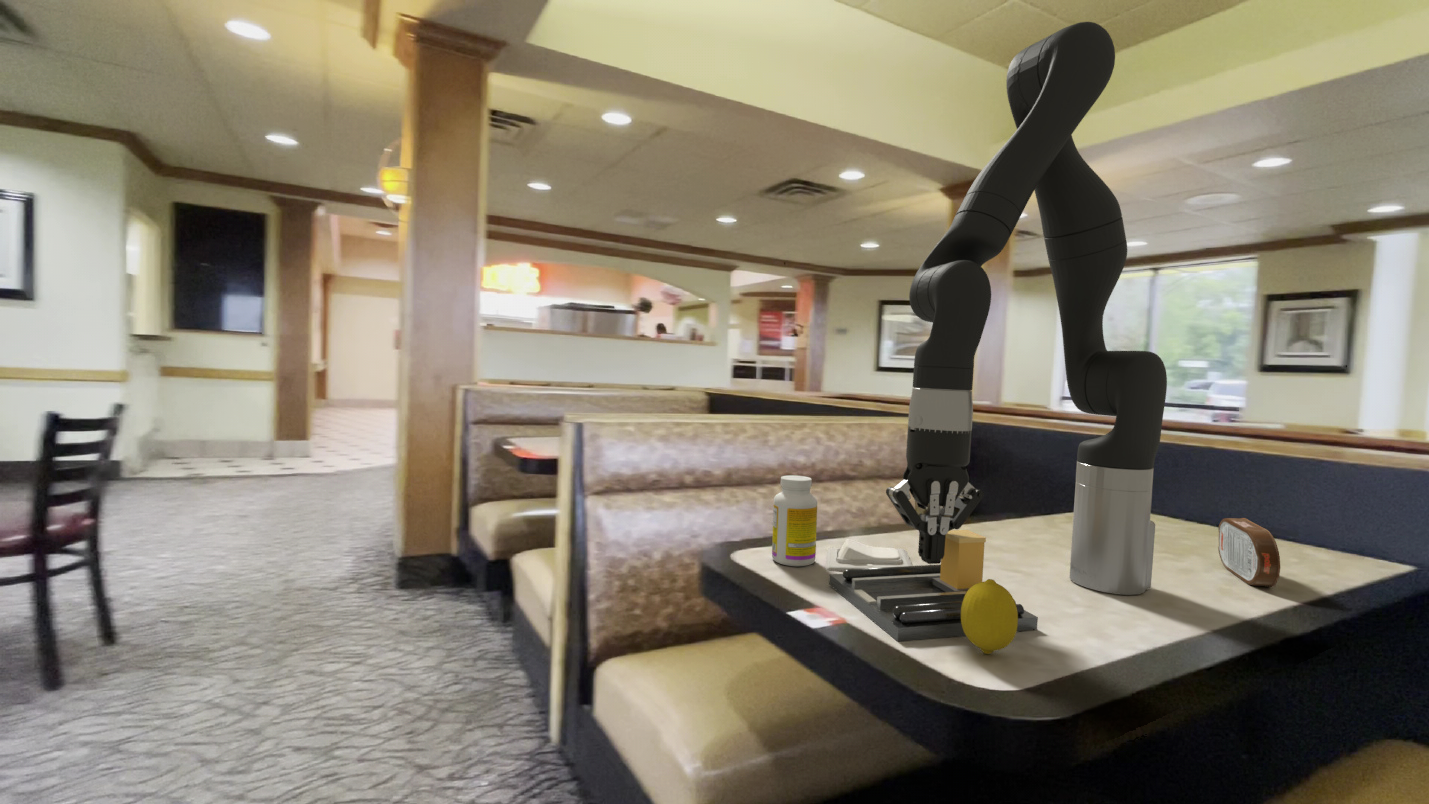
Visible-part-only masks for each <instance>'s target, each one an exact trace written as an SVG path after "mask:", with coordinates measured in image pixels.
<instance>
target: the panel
mask: <svg viewBox="0 0 1429 804" xmlns="http://www.w3.org/2000/svg"><path fill="white" fill-rule="evenodd" d="M940 571H941V563H940V564H928V565H927V564H925V565H923V564H922V565H912V566H901V567H882V568H863V569H846V570H844V572H842V573H830V574H829V578H828V579H829V580H828V581H829V584H828V585H829V586H830V588H832V589H834V591H836V592H837V593H838V594H839V595H841V596H842V597H843V598H844V599H846V600H847V601H848V602H849V603H850V604H851V605H852V606H854V607H856V609H858V610H859V611H860V612H861V613H863V615H865V616H866V618H868V619H870V620H871V621H872V620H873V621H874V622H873V621H872V622H873V623H875V625H877V626H878V627H879V626H880V627H879V628H880V629H882V630H883V631H884V632H886V634H887V635H890V636H891V638H893V639H894V640H895V641H896V642H904V641H905V642H907V641H917V640H928V639H929V640H930V639H942V638H955V637H967V636H966V635H965V633H964V631H963V628H962V624H961V606H962V602H963V599H964V596H965V594H966V593H967V591H960V592H945V591H943V590H941V589H940V588H938V587H936V586H935V585H933V584H932V581H933V578H940ZM1014 601H1015V604H1016V607H1017V613H1018V625H1017V631H1016V633H1017V632H1025V631H1024V630H1029V631H1034V630H1033V629H1037V630H1038V623H1039V622H1038V621H1039V618H1038V616H1036V615H1035V614H1032V613H1031V612H1029V611H1027V610H1026V609H1025V608H1024V606H1023V605H1022V604H1020V603H1016V600H1015V599H1014Z"/></svg>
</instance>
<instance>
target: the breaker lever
mask: <svg viewBox="0 0 1429 804" xmlns="http://www.w3.org/2000/svg"><path fill="white" fill-rule="evenodd" d="M986 542H987V537H985V536H983V535H981V534H978V533H975V532H973V531H971V530H969V529H953V530H950V531H948V533H947V534H946V538H945V550H944V551H945V552H944V557H943V559H941V563H940V564H941V571H940V578H933V581H932V584H933V585H935V586H936V587H938V588H940V589H941V590H943V591H945V592H960V591H968V590H969V589H970V588H971V587H972V586H973V585H975V584H977V583H980V582H983V575H984V559H985V557H984V556H985V555H984V554H985V543H986Z"/></svg>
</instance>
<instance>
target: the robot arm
mask: <svg viewBox="0 0 1429 804" xmlns="http://www.w3.org/2000/svg"><path fill="white" fill-rule="evenodd" d="M1115 48H1116V47H1115V45H1114V40H1113V39H1112V37H1111V35H1110V33H1109V32H1108V31H1107V30H1106V29H1105V28H1104V27H1103V26H1102V25H1100V24H1099V23H1097V22H1094V21H1093V22H1092V21H1081V22H1077V23H1073V24H1071V25H1068V26H1065V27H1063V28H1061V29H1059V30H1058V31H1055V32H1054V33H1051V34H1050V35H1048V36H1046V37H1044V38H1042V39H1040V40H1039V41H1037V42H1034V43H1033V44H1031V45H1029V46H1027V47H1025V48H1024V49H1021V50H1020V51H1019V52H1018V53H1016V55H1014V56H1013V58H1012V60H1011V62H1010V64H1009V65H1008V69H1007V74H1006V95H1007V100H1008V104H1009V107H1010V112H1011V115H1012V118H1013V121H1014V124H1015V127H1016V130H1015V132H1014V133H1013V134H1012V135H1011V136H1010V138H1009V139H1008V140H1007V141H1006V142H1005V143H1004V144H1003V145H1002V146H1001V148H999V150H998V151H997V152H996V153H995V154H994V155H993V157H992V158H991V159H990V160H989V161H988V162H987V164H986V165H985V166H983V168H982V170H981V171H980V172H979V173H978V175H977V176H976V178H975V179H974V181H973V182H972V183H971V186H970V187H969V189H968V191H967V192H966V194H965V196H964V198H963V200H962V202H961V204H960V206H959V208H958V210H957V211H956V213H955V216H954V218H953V220H952V222H951V224H950V226H949V228H948V230H947V231H946V232H945V233H944V235H943V236H942V237H941V239H939V241H938V242H937V244H936V245H935V246H934V248H933V249H932V250H930V253H929V254H928V255H927V257H926V258H925V259H924V260H923V262H922V264H921V265H920V267H919V269H918V270H917V271H916V273H915V275H914V277H913V279H912V281H911V285H910V289H909V295H908V297H909V299H908V300H909V305H910V308H911V310H912V312H913V314H914V315H915V316H916V317H918V318H919V319H920V320H922V321H923V322H927V323H928V322H929V323H932V326H931V330H930V334H929V337H928V338H927V339H926V340H925V341H924V342H922V343H921V344H919V345H918V346H917V348H916V350H915V354H914V362H913V374H912V375H913V376H912V377H913V378H912V389H911V396H910V400H909V407H908V418H907V419H908V421H907V424H908V425H907V435H906V438H907V439H906V452H905V458H906V463H907V464H906V468H905V471H904V472H903V475H902V480H901V481H899V483H898V484H896V485H895V486H894V487H893V486H888V487H887V488H886V490H885V494H886V496H887V498H888V499H889V501H890V502H891V504H892V506H893V507H894V508H895V509H896V511H897V512H898V515H900V517H901V519H902V520H903V522H904V523H905V524H906V525H907V526H909V527H911V528H914V529H915V530H917V531H918V534H919V535H918V536H919V537H918V550H917V553H918V556H919V557H920V559H921V561H922V562H925V563H926V564H928V565H940V564H941V559H943V557H944V552H945V551H944V550H945V538H946V534H947V533H948V531H950V530H960V529H961V528H962V526H963V525H964V523H965V522H966V521H967V520H968V518H969V517H970V515H971V514H972V513H973V511H974V510H975V509H976V508H977V506H978V505H979V503H980V502H981V501H982V500H983V498H984V496H985V494H984V491H983V490H981V489H978V488H975V487H974V486H973V484H971V482H969V480H970V477H969V473H968V471H967V466H968V465H969V464H970V460H971V444H972V430H973V417H974V416H973V415H974V407H973V406H974V403H973V401H974V400H973V391H972V390H973V385H974V384H973V383H974V381H973V380H974V371H975V370H974V368H975V357H976V352H977V350H978V347H979V345H980V342H981V340H982V339H981V338H982V336H983V334H984V333H983V332H984V329H985V326H986V323H987V320H988V316H989V312H990V309H991V304H992V303H991V302H992V287H991V281H990V279H989V276H988V273H987V272H986V271H985V269H984V268H983V267H982V266H983V265H984V264H985V263H987V262H989V261H990V260H992V259H994V258H995V257H997V256H998V255H999V254H1000V253H1001V252H1002V251H1003V249H1004V248H1005V246H1006V245H1007V243H1008V241H1009V240H1010V237H1011V236H1012V234H1013V232H1014V230H1015V228H1016V225H1017V224H1018V222H1019V220H1020V218H1021V216H1022V214H1023V212H1024V210H1025V208H1026V206H1027V204H1028V202H1029V200H1031V197H1032V195H1033V193H1035V198H1036V202H1037V207H1038V212H1039V215H1040V216H1039V217H1040V221H1041V228H1042V235H1043V236H1042V237H1043V239H1044V244H1045V249H1046V255H1047V258H1048V260H1047V261H1048V264H1049V267H1050V271H1051V275H1052V279H1053V285H1054V290H1055V296H1056V300H1057V306H1058V312H1059V317H1060V318H1059V319H1060V325H1061V333H1062V343H1063V344H1062V346H1063V354H1064V355H1063V356H1064V369H1065V375H1066V376H1065V377H1066V384H1067V389H1068V393H1069V396H1070V398H1071V400H1072V402H1073V404H1074V406H1075V407H1076V409H1078V410H1079V411H1080V412H1082V413H1086V414H1090V415H1098V416H1106V417H1107V416H1108V417H1115V422H1114V424H1113V425H1114V426H1113V427H1112V429H1111V430H1110V431H1109V432H1108V433H1106V434H1104V435H1101V436H1099V437H1096V438H1091V439H1087V440H1083V441H1082V442H1080V443H1079V445H1078V446H1077V453H1076V455H1077V456H1076V469H1075V486H1074V487H1075V489H1074V500H1073V501H1074V504H1073V518H1072V533H1071V535H1072V536H1071V550H1070V562H1069V564H1070V565H1069V580H1071V581H1072V582H1074V583H1075V584H1077V585H1078V586H1082V587H1085V588H1087V589H1091V590H1095V591H1099V592H1103V593H1108V594H1115V595H1125V596H1126V595H1132V596H1134V595H1140V594H1141V595H1142V594H1143V593H1145V592H1146V590H1151V589H1152V577H1153V575H1152V574H1153V562H1154V547H1155V536H1156V523H1155V521H1153V520H1151V511H1152V500H1153V482H1154V481H1153V480H1154V468H1155V459H1156V456H1157V452H1158V450H1159V447H1160V441H1161V436H1162V428H1163V427H1162V426H1163V418H1164V412H1165V404H1166V398H1167V397H1166V396H1167V390H1168V389H1167V388H1168V377H1167V369H1166V366H1165V364H1164V363H1165V362H1164V361H1163V360H1162V358H1161V357H1160V356H1159V355H1158V354H1157V353H1155V352H1152V351H1148V350H1147V351H1146V350H1107V347H1106V344H1105V337H1104V328H1103V327H1104V326H1103V323H1104V322H1103V321H1104V313H1105V310H1106V307H1107V305H1108V302H1109V300H1110V297H1111V295H1112V294H1113V291H1114V289H1115V287H1116V285H1117V283H1118V281H1119V279H1120V277H1121V274H1122V272H1123V270H1124V267H1125V264H1126V261H1127V257H1128V243H1127V237H1126V231H1125V230H1126V229H1125V225H1124V221H1123V214H1122V213H1123V212H1122V210H1121V207H1120V206H1121V205H1120V204H1119V203H1120V202H1119V201H1118V199H1117V197H1116V196H1115V194H1114V193H1113V192H1112V189H1111V188H1110V187H1109V186H1108V185H1107V184H1106V183H1105V181H1104V180H1103V179H1102V178H1101V176H1099V175H1098V174H1097V172H1096V171H1094V170H1093V168H1092V167H1091V166H1090V165H1089V164H1088V162H1086V160H1085V159H1084V158H1083V157H1082V155H1081V154H1080V152H1079V150H1078V149H1077V147H1076V143H1075V141H1074V139H1073V136H1072V135H1073V134H1074V132H1075V130H1076V129H1077V128H1078V126H1079V125H1080V123H1081V122H1082V121H1083V120H1084V118H1085V117H1086V116H1087V114H1088V112H1089V111H1090V110H1091V108H1092V107H1093V106H1094V104H1096V102H1097V100H1098V99H1099V98H1100V96H1101V95H1102V93H1103V91H1105V89H1106V87H1107V85H1108V84H1109V81H1110V80H1111V77H1112V75H1113V73H1114V69H1115V61H1116V50H1115ZM911 496H912V497H913V499H914V505H913V504H912V503H911V501H910V500H911V498H912V497H911Z"/></svg>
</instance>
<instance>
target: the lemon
mask: <svg viewBox="0 0 1429 804" xmlns="http://www.w3.org/2000/svg"><path fill="white" fill-rule="evenodd" d="M1014 600H1015V599H1014V597H1013V595H1012V594H1011V592H1010V591H1009V590H1007V588H1006V587H1004V586H1003V585H1001V584H1000V583H997V582H996V581H995V579H991V578H988V579H987V580H985V581H982V582H980V583H977V584H975V585H973V586H972V587H971V588H970V589H969V590H968V591H967V593H966V594H965V596H964V599H963V602H962V606H961V624H962V628H963V631H964V633H965V635H966V636H965V637H966V638H967V639H968V640H969V642H971V643H972V644H973V645H974V646H975V647H977V648H979V649H980V651H982V652H983V654H985V655H991V654H992V653H994V652H995V651H1001V650H1003V649H1005V648H1006V647H1008V646H1009V645H1010V644H1011V643H1012V641H1014V639H1015V636H1016V635H1017V632H1018V631H1017V625H1018V613H1017V607H1016V604H1017V603H1016V604H1015V602H1016V600H1015V601H1014ZM1016 631H1017V632H1016Z"/></svg>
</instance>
